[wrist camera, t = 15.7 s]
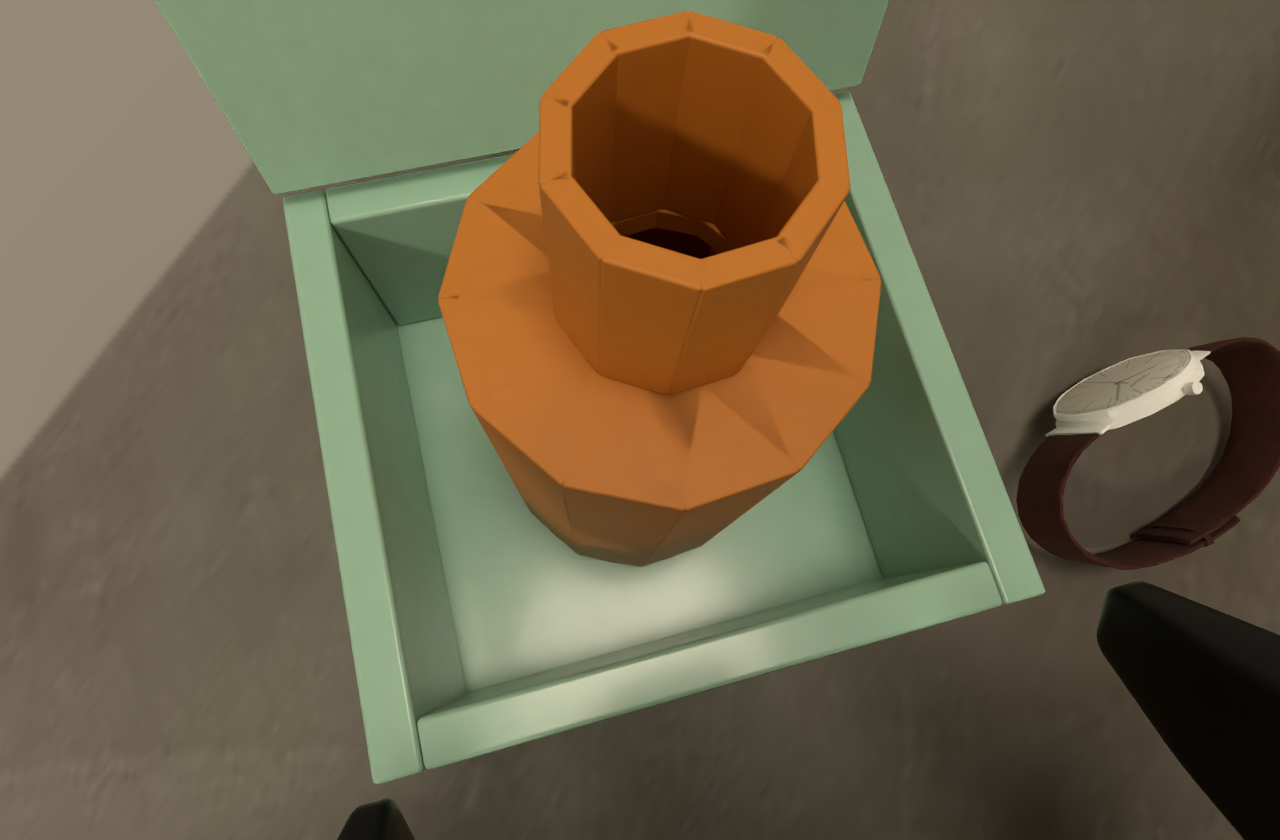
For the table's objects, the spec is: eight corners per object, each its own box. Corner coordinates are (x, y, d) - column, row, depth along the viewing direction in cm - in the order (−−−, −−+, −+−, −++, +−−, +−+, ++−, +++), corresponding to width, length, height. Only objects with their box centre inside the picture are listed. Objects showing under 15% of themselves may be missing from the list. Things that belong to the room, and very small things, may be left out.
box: (910, 603, 18) (1048, 593, 13) (445, 734, 17) (371, 787, 11) (782, 231, 21) (850, 88, 15) (370, 318, 20) (279, 195, 14)
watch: (1158, 322, 21) (1271, 261, 17) (1279, 458, 20) (1424, 422, 16) (956, 469, 19) (1036, 434, 16) (1076, 623, 18) (1188, 622, 15)
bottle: (778, 520, 18) (1109, 327, 6) (557, 597, 17) (478, 538, 6) (697, 317, 19) (851, -147, 8) (489, 380, 18) (312, -31, 7)
